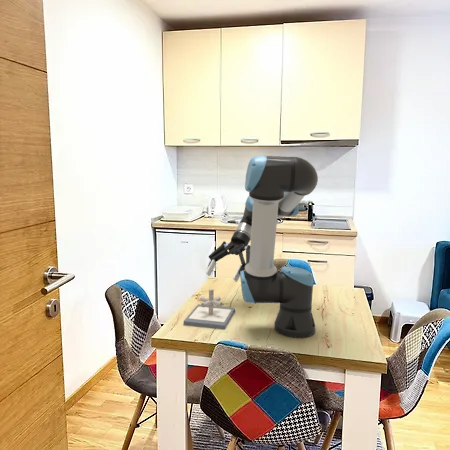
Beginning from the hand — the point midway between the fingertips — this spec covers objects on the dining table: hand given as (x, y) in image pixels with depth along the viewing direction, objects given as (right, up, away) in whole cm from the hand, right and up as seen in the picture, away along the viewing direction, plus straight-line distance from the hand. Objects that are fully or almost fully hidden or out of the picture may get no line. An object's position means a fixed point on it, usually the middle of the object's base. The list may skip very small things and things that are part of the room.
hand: (220, 277), depth 173 cm
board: (-4, -16, -4) cm, 17 cm away
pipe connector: (-4, -14, -4) cm, 15 cm away
